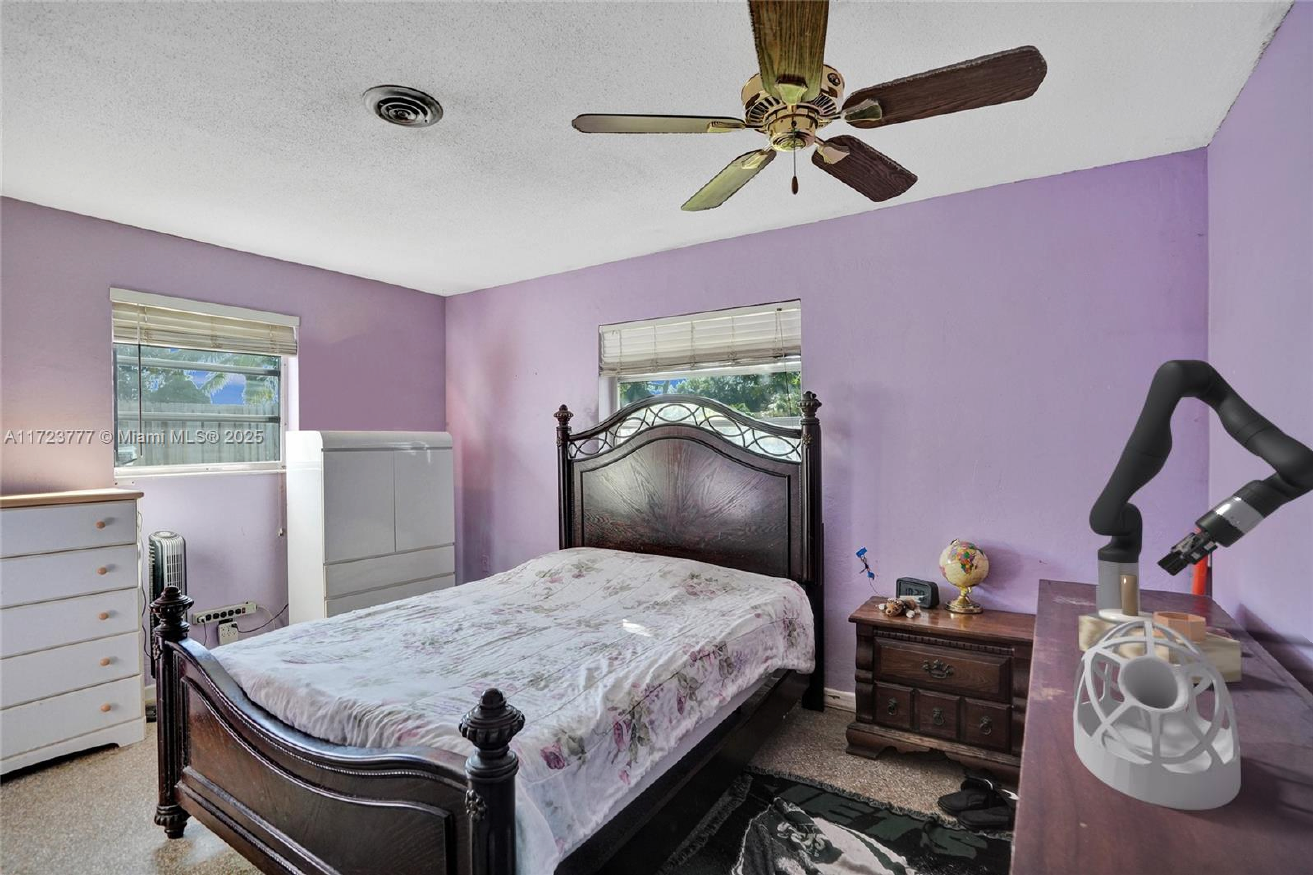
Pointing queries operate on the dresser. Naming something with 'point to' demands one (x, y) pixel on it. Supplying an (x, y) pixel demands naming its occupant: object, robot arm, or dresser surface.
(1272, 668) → the dresser surface
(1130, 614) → the lid
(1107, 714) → the lampshade
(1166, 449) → the robot arm
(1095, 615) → the mat
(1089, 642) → the riser
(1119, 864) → the dresser surface
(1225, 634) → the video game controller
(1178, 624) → the bowl
